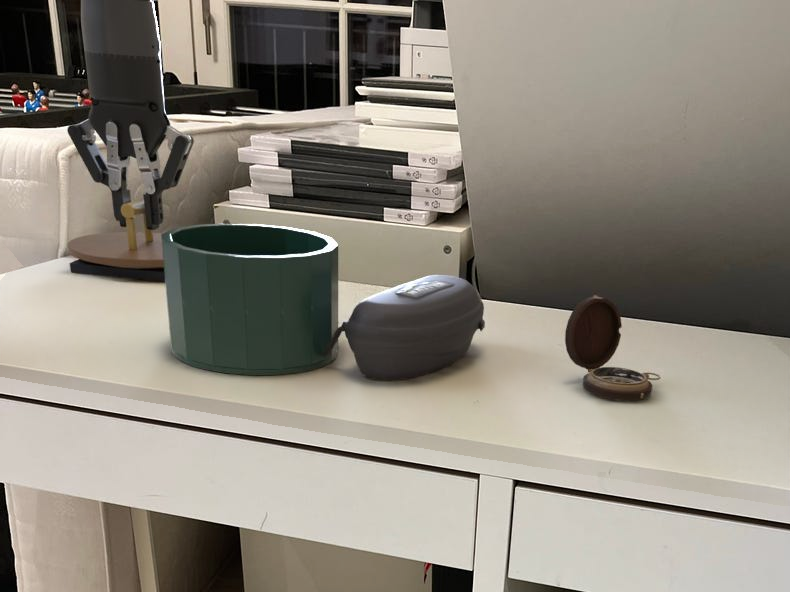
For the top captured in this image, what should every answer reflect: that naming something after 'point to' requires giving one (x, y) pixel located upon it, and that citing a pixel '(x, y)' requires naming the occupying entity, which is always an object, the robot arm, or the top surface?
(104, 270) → the mat
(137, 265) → the lid
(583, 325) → the compass
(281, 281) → the toy tin
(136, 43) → the robot arm
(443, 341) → the glasses case
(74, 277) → the top surface
